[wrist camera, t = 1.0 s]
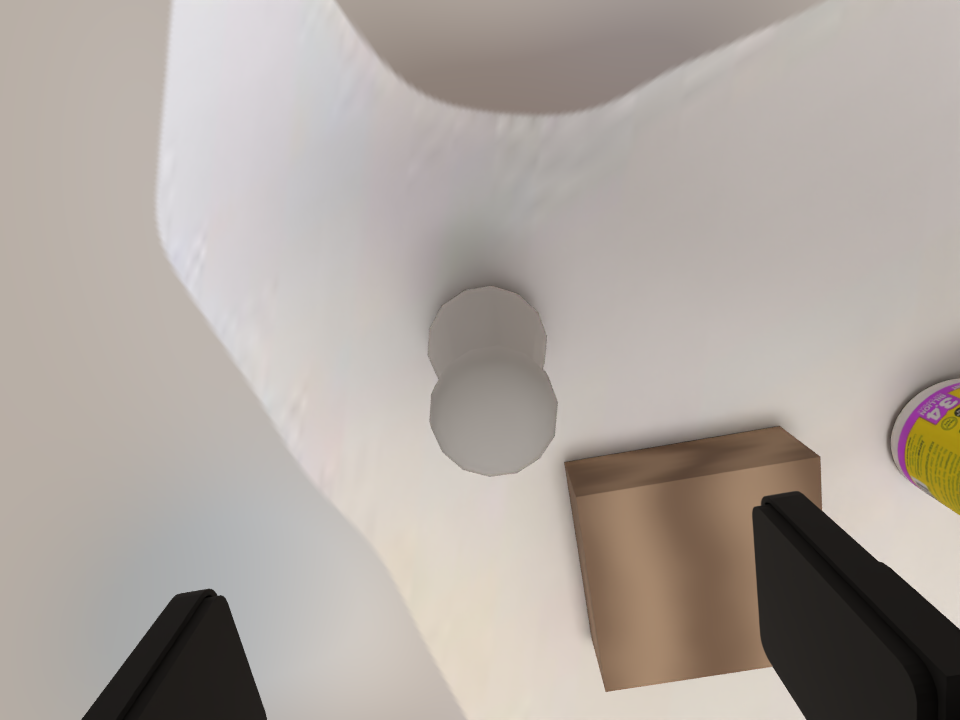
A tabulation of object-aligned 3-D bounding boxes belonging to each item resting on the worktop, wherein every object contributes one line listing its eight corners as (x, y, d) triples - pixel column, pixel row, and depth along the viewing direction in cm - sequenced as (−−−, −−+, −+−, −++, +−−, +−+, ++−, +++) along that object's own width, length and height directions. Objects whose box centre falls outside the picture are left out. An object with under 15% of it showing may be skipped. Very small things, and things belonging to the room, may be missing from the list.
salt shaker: (471, 406, 32) (469, 538, 20) (409, 321, 31) (364, 405, 19) (562, 347, 32) (619, 446, 19) (502, 257, 30) (520, 299, 18)
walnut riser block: (779, 426, 33) (820, 456, 29) (788, 608, 36) (826, 658, 32) (564, 462, 33) (576, 497, 29) (592, 639, 36) (605, 691, 33)
